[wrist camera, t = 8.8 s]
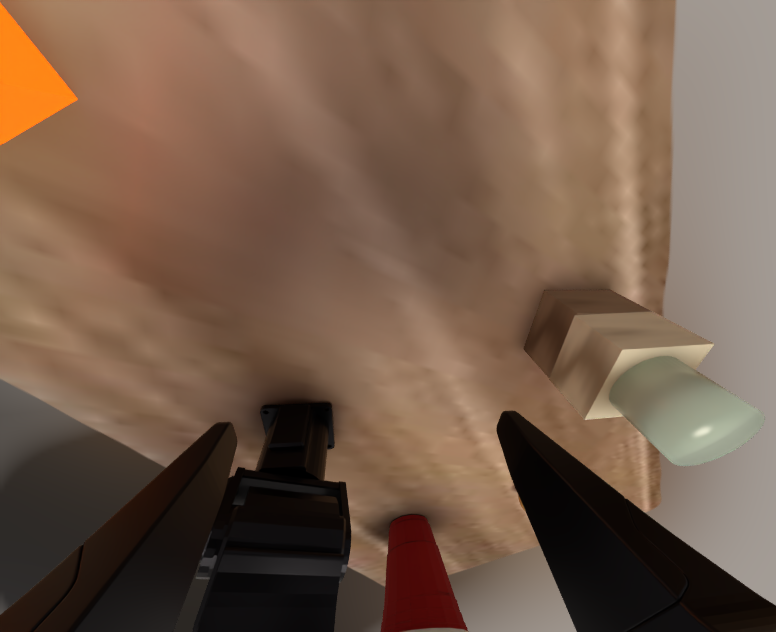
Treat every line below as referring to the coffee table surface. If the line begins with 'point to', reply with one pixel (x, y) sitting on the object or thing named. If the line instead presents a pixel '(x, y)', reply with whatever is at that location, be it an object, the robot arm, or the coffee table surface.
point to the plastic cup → (417, 582)
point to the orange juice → (25, 82)
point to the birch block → (616, 355)
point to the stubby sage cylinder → (683, 411)
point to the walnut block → (568, 319)
